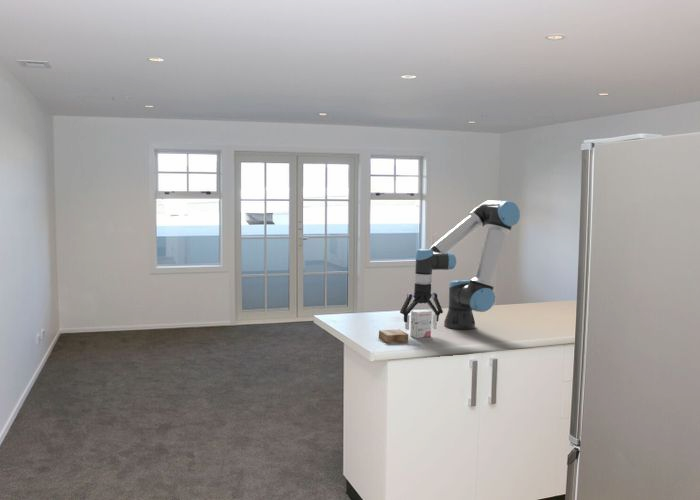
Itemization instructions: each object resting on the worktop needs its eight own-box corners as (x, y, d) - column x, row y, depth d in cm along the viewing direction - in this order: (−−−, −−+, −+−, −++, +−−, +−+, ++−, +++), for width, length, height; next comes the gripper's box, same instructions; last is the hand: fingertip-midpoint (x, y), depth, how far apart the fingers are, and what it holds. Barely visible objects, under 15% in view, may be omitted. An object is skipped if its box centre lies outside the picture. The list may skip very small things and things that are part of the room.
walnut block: (399, 338, 306) (399, 329, 306) (408, 343, 296) (408, 334, 296) (378, 339, 303) (379, 330, 302) (386, 344, 293) (387, 335, 293)
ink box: (424, 334, 314) (425, 309, 313) (431, 336, 310) (432, 311, 308) (409, 336, 309) (410, 310, 308) (416, 338, 305) (417, 312, 304)
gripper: (444, 281, 314) (442, 326, 316) (394, 281, 307) (392, 327, 309) (451, 284, 307) (449, 329, 309) (400, 284, 300) (398, 331, 302)
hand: (420, 328), depth 309 cm, fingers open, 13 cm apart
